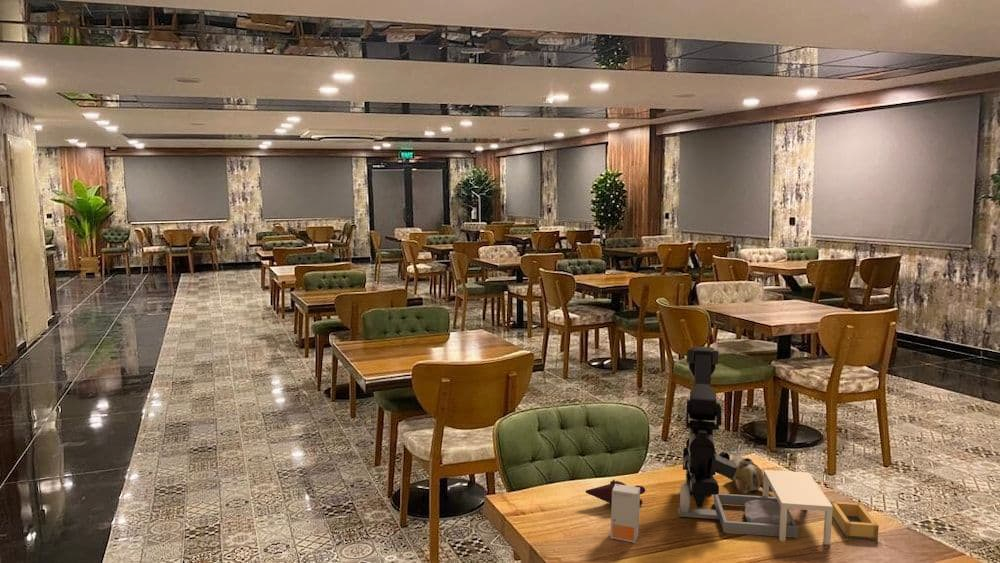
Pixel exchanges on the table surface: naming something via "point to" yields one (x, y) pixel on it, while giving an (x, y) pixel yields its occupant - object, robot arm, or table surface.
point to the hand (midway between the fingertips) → (699, 506)
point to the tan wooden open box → (854, 521)
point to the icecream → (609, 491)
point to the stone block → (764, 512)
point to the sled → (732, 525)
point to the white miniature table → (797, 497)
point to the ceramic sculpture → (747, 475)
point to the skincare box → (625, 513)
